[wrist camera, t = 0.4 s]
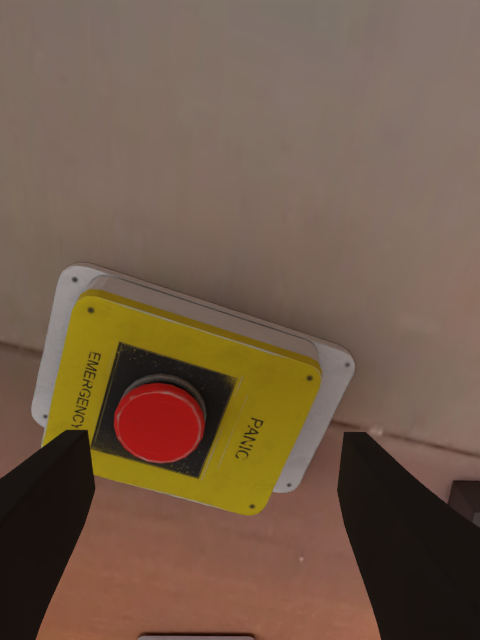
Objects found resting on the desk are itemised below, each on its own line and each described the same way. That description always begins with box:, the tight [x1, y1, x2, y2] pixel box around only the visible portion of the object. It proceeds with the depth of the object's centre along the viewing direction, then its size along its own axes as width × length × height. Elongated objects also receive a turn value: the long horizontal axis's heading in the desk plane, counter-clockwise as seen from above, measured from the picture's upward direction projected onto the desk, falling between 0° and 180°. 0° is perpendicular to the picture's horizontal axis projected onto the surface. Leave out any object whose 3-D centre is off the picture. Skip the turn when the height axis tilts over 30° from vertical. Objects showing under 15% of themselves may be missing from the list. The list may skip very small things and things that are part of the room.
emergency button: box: [31, 262, 355, 515], centre depth 20 cm, size 9×4×15 cm
